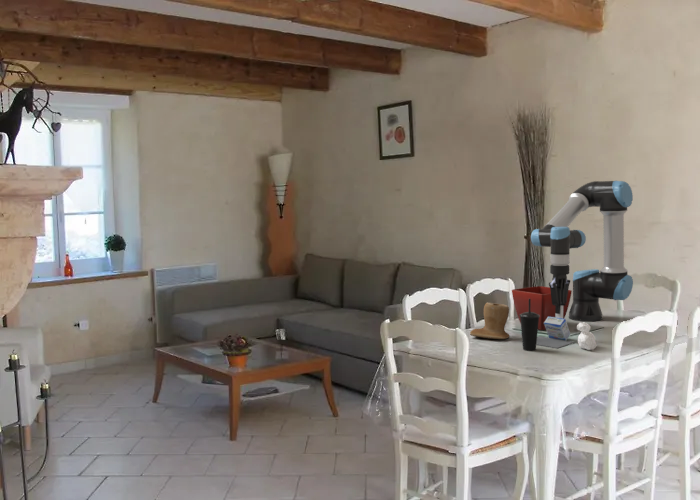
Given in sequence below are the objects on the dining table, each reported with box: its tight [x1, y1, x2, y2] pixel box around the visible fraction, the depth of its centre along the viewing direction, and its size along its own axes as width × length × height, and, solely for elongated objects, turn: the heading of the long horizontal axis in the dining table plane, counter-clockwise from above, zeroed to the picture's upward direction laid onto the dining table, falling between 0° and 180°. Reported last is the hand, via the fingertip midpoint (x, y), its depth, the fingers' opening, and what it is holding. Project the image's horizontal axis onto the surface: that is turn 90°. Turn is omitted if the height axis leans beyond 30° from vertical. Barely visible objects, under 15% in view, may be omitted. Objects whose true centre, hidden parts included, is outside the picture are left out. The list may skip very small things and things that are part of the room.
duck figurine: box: [576, 321, 598, 351], centre depth 269 cm, size 12×8×11 cm
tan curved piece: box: [469, 302, 510, 340], centre depth 290 cm, size 15×12×15 cm
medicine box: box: [544, 316, 571, 341], centre depth 284 cm, size 8×4×9 cm
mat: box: [536, 335, 576, 349], centre depth 280 cm, size 13×16×1 cm
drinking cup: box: [519, 299, 540, 352], centre depth 268 cm, size 8×8×20 cm
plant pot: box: [511, 285, 573, 331], centre depth 310 cm, size 19×19×17 cm
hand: (559, 321), depth 285 cm, fingers closed
